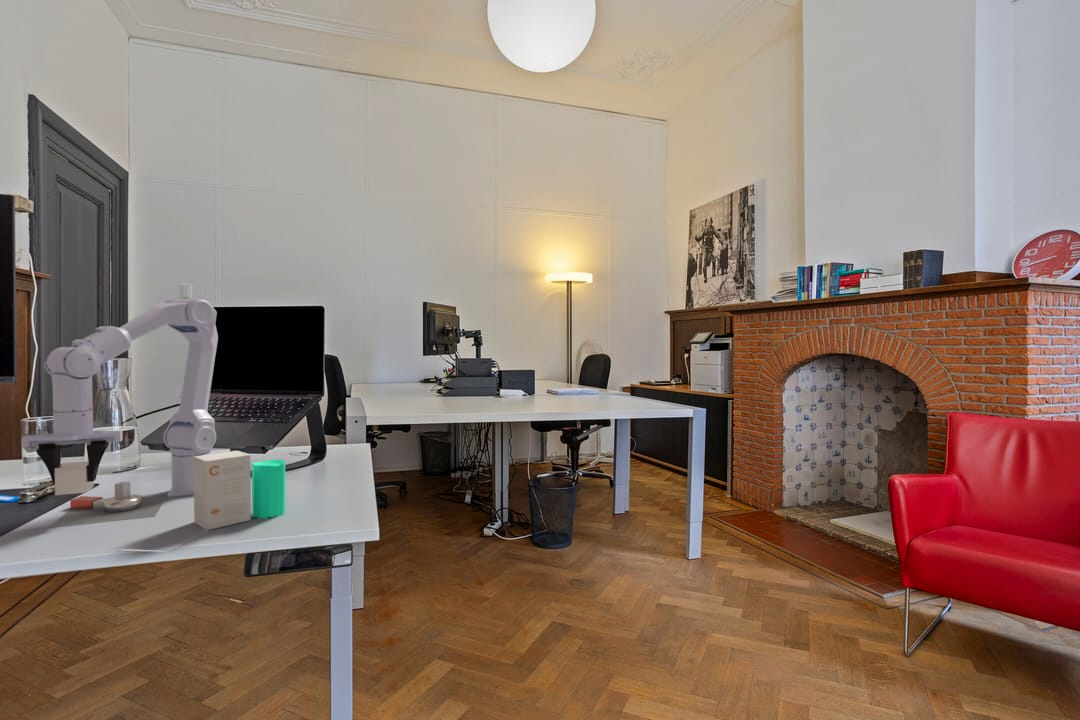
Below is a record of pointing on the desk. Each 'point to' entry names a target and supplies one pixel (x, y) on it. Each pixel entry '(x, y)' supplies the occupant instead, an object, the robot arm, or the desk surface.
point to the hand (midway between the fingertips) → (74, 481)
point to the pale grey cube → (72, 478)
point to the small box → (222, 489)
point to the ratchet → (110, 501)
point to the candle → (268, 488)
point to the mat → (98, 515)
